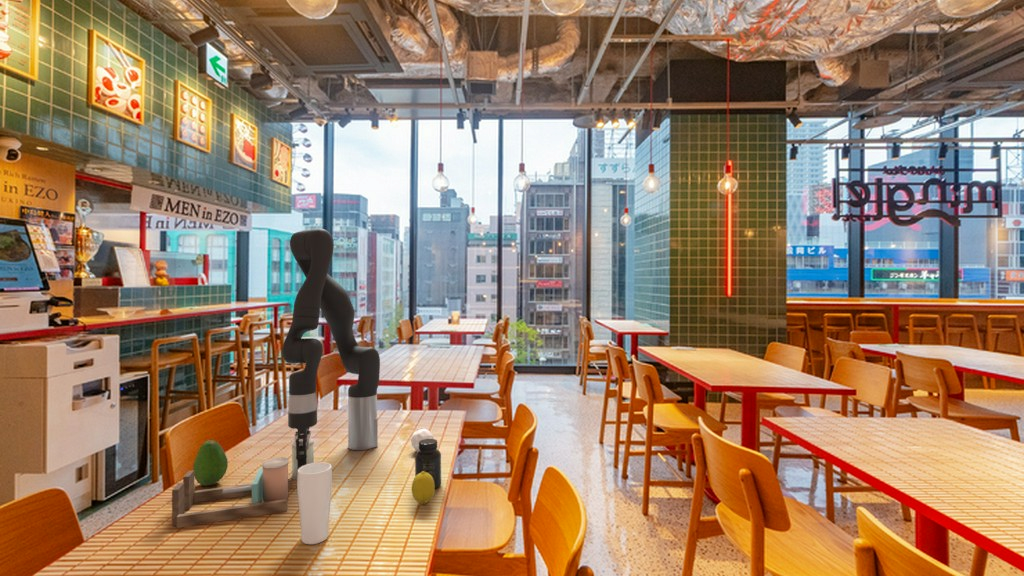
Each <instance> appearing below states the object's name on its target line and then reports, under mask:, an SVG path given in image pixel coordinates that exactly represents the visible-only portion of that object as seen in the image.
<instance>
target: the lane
mask: <svg viewBox="0 0 1024 576" xmlns="http://www.w3.org/2000/svg"><path fill="white" fill-rule="evenodd" d="M293 480H294V479H293V478H292V477H291V478H288V491H289V490H293V486H294V485H293ZM244 486H252V483H244V484H239V485H231V486H221V487H215V488H214V487H213V488H207V489H198V490H195V476H194V470H193V469H192V470H188V471H187V472H186V473H185V474H184V475H183V477H182V482H178V483H176V485H175V486H174V488H172V490H171V526H172V527H176V528H177V529H178V528H185V527H190V526H191V527H193V526H198V525H204V524H211V523H218V522H224V521H225V522H226V521H229V520H231V521H232V520H236V519H237V520H239V519H242V518H243V519H244V518H245V519H246V518H252V517H257V516H258V517H259V516H262V515H263V516H265V515H268V514H269V515H271V514H276V513H284V512H287V510H288V500H287V499H284V500H277V501H270V502H263V501H262V502H261V503H256V504H252V503H250V504H249V503H248V504H243V505H237V506H236V505H234V506H228V507H222V508H215V509H207V510H201V511H195V512H194V511H193V512H186V513H185V511H189V510H190V509H191V508H192V507H193V506H194V504H195V503H200V502H201V503H202V502H206V501H205V500H208V501H214V500H222V499H229V498H236V497H238V498H239V497H243V496H244V497H245V496H252V490H247V491H239V492H232V493H224V494H223V493H222V491H223V489H229V488H236V487H244Z"/></svg>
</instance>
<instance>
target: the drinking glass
mask: <svg viewBox="0 0 1024 576" xmlns="http://www.w3.org/2000/svg"><path fill="white" fill-rule="evenodd" d="M332 468H333V467H332V464H331V463H329V462H324V461H321V462H320V461H319V462H318V461H317V462H316V461H315V462H314V463H310V464H307V465H304V466H302V467H300V468H299V469H298V474H297V479H296V485H297V489H296V491H297V500H298V503H297V504H298V510H299V522H300V523H299V525H300V531H301V532H300V540H301V542H302V543H303V544H306V545H316V544H319V543H323V542H324V541H326V539H327V538H328V537H329V535H330V534H329V533H330V528H329V527H330V526H329V525H330V512H331V500H332V491H333V469H332Z"/></svg>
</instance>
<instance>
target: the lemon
mask: <svg viewBox="0 0 1024 576" xmlns="http://www.w3.org/2000/svg"><path fill="white" fill-rule="evenodd" d="M435 491H436V490H435V485H434V480H433V478H432V476H431V475H430V474H429V473H426V472H424V471H422V472H421V473H419V474H417V475H416V476H415V475H414V477H413V480H412V484H411V494H412V498H413V499H414V500H415V501H416V502H418V503H420V504H421V505H425V504H427V502H429V501H431V499H432V498H433V497H434V495H435Z"/></svg>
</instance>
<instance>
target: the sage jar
mask: <svg viewBox="0 0 1024 576" xmlns="http://www.w3.org/2000/svg"><path fill="white" fill-rule="evenodd" d="M295 442H296V441H295V439H293V440H292V441H291V478H293V480H297V474H298V460H296V450H295ZM314 443H315V439H314V438H313V437H310V439H309V449H308V450H307V459H306V465H307V464H310V463H315V461H314V458H315V455H314V453H315V452H314V450H315V449H314V448H315V447H314V446H315V445H314ZM306 446H307V443H306ZM302 454H304V451H301V452H299V455H302Z"/></svg>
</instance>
